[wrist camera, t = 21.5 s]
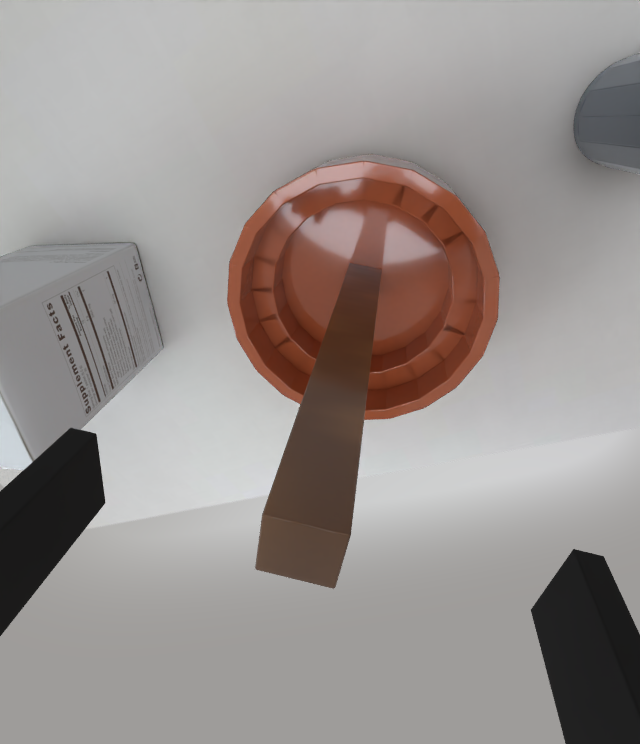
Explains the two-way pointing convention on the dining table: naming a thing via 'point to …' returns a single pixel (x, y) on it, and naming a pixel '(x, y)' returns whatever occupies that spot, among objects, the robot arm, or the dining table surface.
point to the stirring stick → (324, 446)
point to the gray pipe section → (612, 117)
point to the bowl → (373, 249)
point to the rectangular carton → (67, 339)
